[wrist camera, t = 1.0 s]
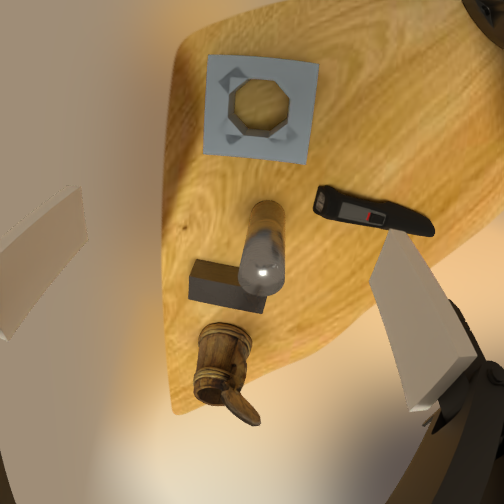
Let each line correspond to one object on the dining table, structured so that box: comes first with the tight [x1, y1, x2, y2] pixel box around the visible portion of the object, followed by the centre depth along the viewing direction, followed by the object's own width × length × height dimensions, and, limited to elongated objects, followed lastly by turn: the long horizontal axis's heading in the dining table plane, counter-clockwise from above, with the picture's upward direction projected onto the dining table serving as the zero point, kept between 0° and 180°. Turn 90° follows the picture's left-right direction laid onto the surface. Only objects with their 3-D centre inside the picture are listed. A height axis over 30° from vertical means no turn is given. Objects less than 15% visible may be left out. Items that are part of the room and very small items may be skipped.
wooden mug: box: [193, 323, 261, 426], centre depth 41 cm, size 9×14×18 cm, turn 135°
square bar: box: [188, 259, 267, 314], centre depth 40 cm, size 10×4×4 cm, turn 80°
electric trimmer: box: [313, 186, 435, 237], centre depth 33 cm, size 4×16×3 cm, turn 81°
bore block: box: [203, 55, 319, 165], centre depth 27 cm, size 10×10×4 cm
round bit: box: [238, 201, 285, 296], centre depth 31 cm, size 4×4×12 cm
